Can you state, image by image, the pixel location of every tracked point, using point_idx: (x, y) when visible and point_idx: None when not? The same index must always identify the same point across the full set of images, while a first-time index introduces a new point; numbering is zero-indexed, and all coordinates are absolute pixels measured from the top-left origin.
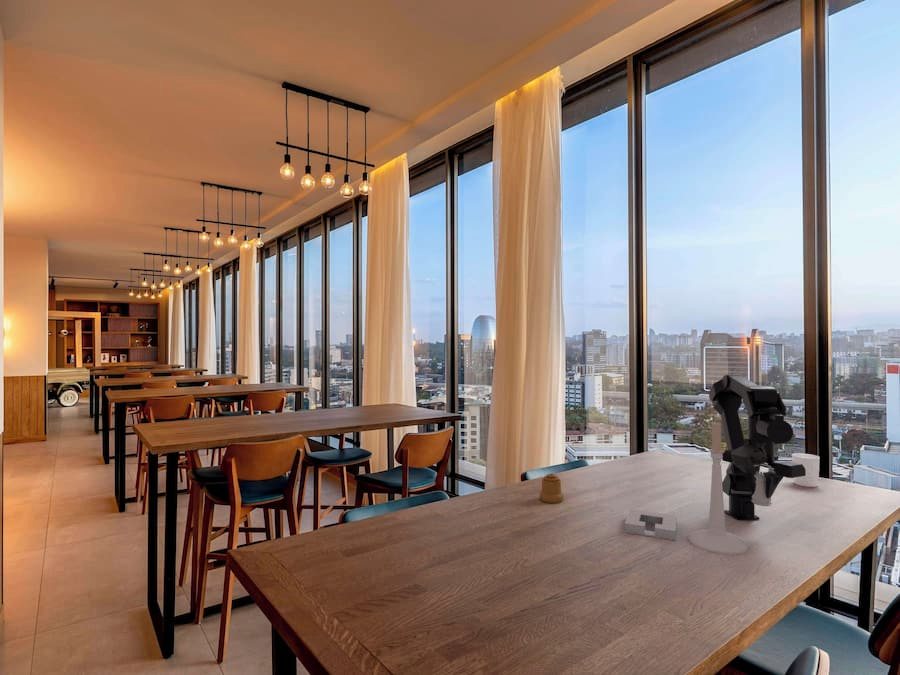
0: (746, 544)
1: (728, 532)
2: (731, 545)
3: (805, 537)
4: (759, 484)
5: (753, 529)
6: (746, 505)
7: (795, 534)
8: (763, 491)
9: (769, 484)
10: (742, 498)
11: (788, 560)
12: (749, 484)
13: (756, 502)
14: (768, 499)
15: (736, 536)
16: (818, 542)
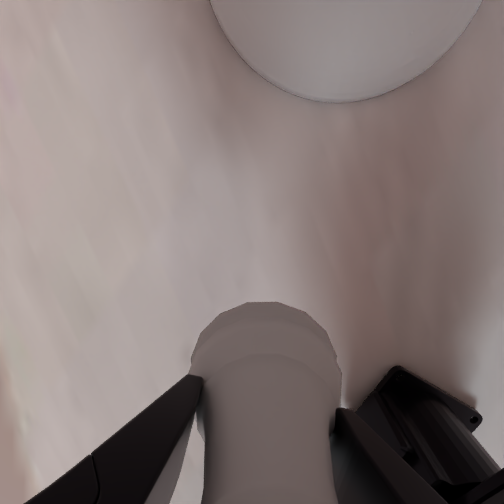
0: (221, 11)
1: (335, 34)
2: None
3: (134, 382)
4: (269, 479)
5: (305, 306)
6: (396, 443)
7: (171, 385)
8: (226, 416)
9: (68, 487)
10: (437, 473)
11: (38, 35)
12: (417, 479)
13: (277, 310)
14: (192, 374)
15: (280, 13)
16: (80, 367)
